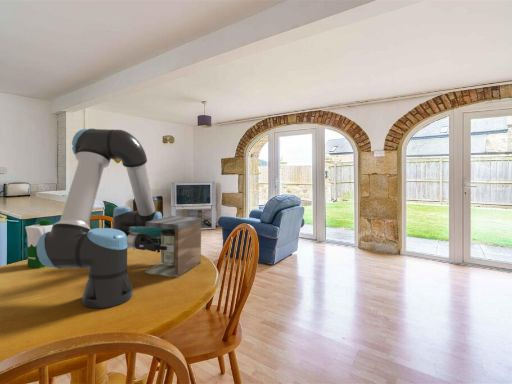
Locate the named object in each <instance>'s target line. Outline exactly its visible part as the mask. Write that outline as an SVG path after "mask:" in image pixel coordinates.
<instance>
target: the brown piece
mask: <svg viewBox="0 0 512 384" xmlns="http://www.w3.org/2000/svg"><path fill="white" fill-rule="evenodd" d="M150 227H152V228H157V229H164V230H168V229H175V265H164V264H162V263H161V262H160V263H158V264H156V265H153V266H152V267H150V268H147V269H145V270H144V273H146V274H149V275H150V274H151V275H158V276H164V277H171V278H180V277H181V276H183V275H185V274H186V273H188V272H189V271H191V270H192V269H194V268H195V266H196V265H197V266H199V265H200V264H202V261H201V260H202V258H201V257H202V217H193V216H181V215H169V216H165V217H162V218H160V219H156V220H152V221H147V222H145V227H144V228H150ZM199 263H200V264H199ZM198 264H199V265H198ZM197 266H196V267H197ZM193 267H194V268H193Z"/></svg>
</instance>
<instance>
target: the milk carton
mask: <svg viewBox="0 0 512 384" xmlns="http://www.w3.org/2000/svg"><path fill="white" fill-rule="evenodd" d="M52 226H53V224H52V223H51V219H41V220H39V224H32V225H28V226H24V227H25V232H26V239H27V267H30V268H35V269H41V268H44V267H46V266H44V265H43V264H42V263H41V262H40V261H39V257H38V256H37V243H38V240H39V238H40V237H41V236H42V235H43V234H44V233H47V232H51V230H52Z"/></svg>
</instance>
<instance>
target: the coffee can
mask: <svg viewBox="0 0 512 384" xmlns="http://www.w3.org/2000/svg"><path fill="white" fill-rule="evenodd" d="M160 237H161V244H166V245H175V229H163V230H161V231H160ZM160 263H162V264H164V265H175V252H169V251H161V250H160Z"/></svg>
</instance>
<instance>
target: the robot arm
mask: <svg viewBox="0 0 512 384" xmlns="http://www.w3.org/2000/svg"><path fill="white" fill-rule="evenodd" d="M71 145H72V147H71V149H72V152H73V154H74V155H75V159H76V160H77V166H76V168H75V172H74V175H73V178H72V181H71V185H70V187H69V191H68V194H67V196H66V197H67V198H66V201H65V203H64V207H63V210H62V214H61V216H60V220H59V221H57V222H55V223H53V224H52V225H53V226H52V230H51V232H47V233H44V234H43V235H42V236H41V237H40V238H39V240H38V243H37V256H38V257H39V261H40V262H41V263H42V264H43V265H44V266H45V267H46V268H54V269H59V270H60V269H88V270H87V271H88V273H87V274H88V277H87V278H88V279H87V281H86V285H85V287H84V291H83V294H82V300H81V301H82V305H83V306H84V307H86V308H90V309H103V308H104V309H105V308H111V307H116V306H119V305H121V304H124V303H126V302H128V301H129V300H130V299H132V297H133V292H134V290H133V286H132V284H131V281H130V278H129V275H128V249H132V250H133V251H135V250H140V251H145V250H146V251H151V252H154V253H155V252H157V253H161V251H169V252H175V245H166V244H161V236H157V237H151V236H150V235H149V234H148V233H142V232H141V233H139V232H132V231H131V230H132V228H146V227H145V222H147V221H152V220H156V219H160V218H163V215H162V212H161V211H156V207H155V203H154V200H153V194H152V188H151V184H150V180H149V176H148V171H147V165H146V164H147V162H148V159H147V154H146V151H145V149H144V147H143V146H142V144H141V142H140V141H139V140H138V139H137V138H136V137H135V136H134V135H133V134H131V133H130V132H128V131H126V130H122V129H106V128H105V129H102V128H101V129H100V128H93V127H92V128H87V129H86V128H83V129H79V130H78V131H77V132H76V133H75V134H74V136H73V137H72V141H71ZM111 160H120V161H121V164H122V166H123V167H124V168H126V172H127V175H128V179H129V182H130V186H131V191H132V193H133V197H134V200H135V204H136V208H137V209H136V210H137V211H136V210H135V211H134V210H132V209H131V207H130V206H117V207H114V208H113V212H112V213H113V215H112V221H113V223H112V224H113V225H112V226H113V228H111V227H110V228H109V227H104V228H102V227H96V228H92V229H91V227H90V226H89V224H90V220H91V216H92V212H93V209H94V205H95V201H96V198H97V194H98V191H99V186H100V184H101V180H102V175H103V173H104V169H105V168H108V167H109V165H110V162H111ZM149 228H151V229H152V228H153V227H149Z"/></svg>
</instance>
